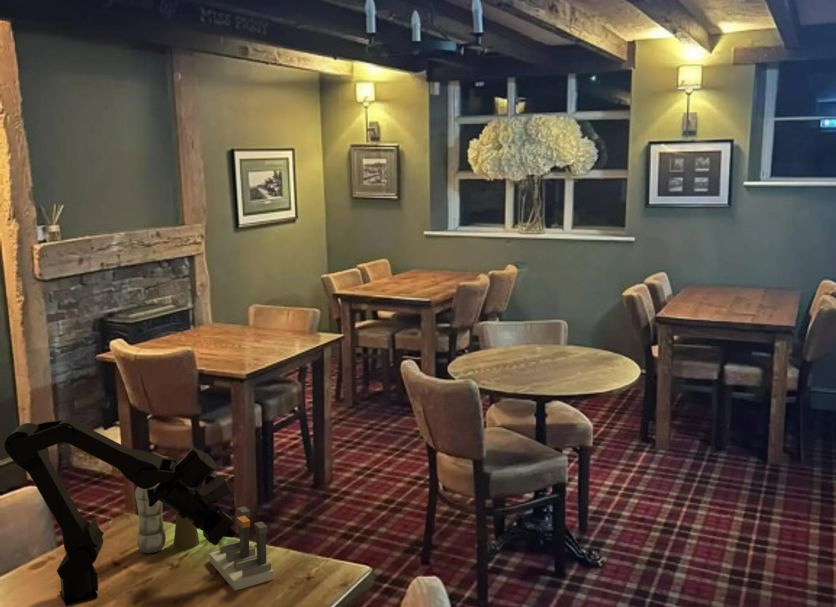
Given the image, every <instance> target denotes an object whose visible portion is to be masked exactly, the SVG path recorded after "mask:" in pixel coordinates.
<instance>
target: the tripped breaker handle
mask: <svg viewBox="0 0 836 607" xmlns="http://www.w3.org/2000/svg"><path fill="white" fill-rule="evenodd" d="M236 519H237V520H236V521H237V524H238V530H239V531H238V532H239V541H240V558H241V559H242V558H246V557H249V546H250V529H249V528H250V527H251V520H250V519H249V517H248V518H247V517H246V516H241V517H239V516H237V517H236ZM248 527H249V528H248Z"/></svg>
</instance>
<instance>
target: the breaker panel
mask: <svg viewBox="0 0 836 607" xmlns="http://www.w3.org/2000/svg"><path fill="white" fill-rule="evenodd" d="M208 557H209V562H210V564H211V565H212V566H213V567H214V568H215V570H216V571H218V573H219V574H220V575H221V576H222V577H223V578H224V580H225V581H226V582H227V583H228V584H229V586H230V587H231V588H232V589H233V590H234V591H238V589H239V590H242V589H244V588H248V587H252V586H256V585H260V584H263V583H267V582H268V581H269V582H270V581H273V580H274V579H275V576H274V575H275V573H274V572H275V570H273V568H272V563H271V562H266V563H265V564H261V565H257V552H256V547H255V546H253V545H249V557H246V558H242V559H241V558H240V540H236V541H233V542H229V543H226V544H221V545H219V550H217V551H212V552H208Z"/></svg>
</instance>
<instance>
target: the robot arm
mask: <svg viewBox="0 0 836 607" xmlns="http://www.w3.org/2000/svg"><path fill="white" fill-rule="evenodd" d="M62 443H65V444H69V445H71V446H72V447H74V448H76V449H78V450H80V451H82V452H85V453H86V454H88V455H90V456H92V457H94V458H95V459H98V460H101V461H102V462H105V463H106V464H108V465H110V466H112V467H114V468H116V469H117V470H118V471H119V472H120V473H121V474H122V475H123V476H124V478H125V479H127V480H128V481H129V482H131V484H133V485H135V486H136V487H137V486H138V487H139V488H142V489H148V490H147V496H148V504H149V507H152V506H153V505H154V504H155V503H156V502H157V501H158V500H159V501H160V502H162V505H165V506H166V507H168V508H169V509H171V510H172V511H175V512H177V513H178V514H179V516H180V517H182V518H183V519H184V518H185V519H187V520H188V521H190V522H191V523H192V524H193V525H194V526H195V527H196V528H197V529H200V530H201V531H202V537H204V538H205V539H206V540H207V541H208V542H209V543H210V544H211V545H213V546H216V545H218V544H219V543H220V542H221V540H222V539H223V538H231V539H232V538H234V537H235V536H236V532H235V531H234V530H233V529H232V527H233V525H234V522H235V521H234V520H233V518H231V517H230V516H229V515H228V514H226V512H225V511H223V509H220V506H219V505H218V504H216V503H218V502H220V501H221V500H222V499H224V498H225V497H227V496H229V495H231V494H232V491H233V490H232V489H231V487H230V485H229V483H228V481H227V480H226V479H225V478H224V477H223V476H222V475H221V474H219V475H218V474H215V476H214V475H213V473H214V472H215V471H216V470H217V469H218V465H217V464H216V462H215V460H214V459H213V458H212V457H211V455H209V454H208V453H207V452H206V453H205V452H204V451H203V450H201V449H198V448H196V447H195V446H192V447H191V448H190V449H189V450H188V452H187V453H186V454H185V455H184V456H183V457H182V458H181V459H180V460H179V459H172V458H171V459H170V458H162V457H161V456H159V455H157V454H156V453H153V452H149V451H145V450H142V449H134V448H130V447H127V446H124V445H123V444H122V443H119V442H117V441H115V440H114V439H111V438H109V437H107V436H105V435H104V434H101V433H100V432H98V431H96V430H94V429H91V428H89V427H88V426H86V425H84V424H82V423H80V422H78V420H76V419H74V418H72V417H67V418H63V419H60V420H51V421H45V422H40V423H33V422H26V423H22V424H20V425H18V426H17V427H16V428H15V429H14V430H13V431H12V432H11V433H10V434H9V435H8V436H7V437H6V439H5V442H4V451H5V453H6V454H7V455H8V457H9V458H10V459H11V460H12V461H13V463H14V464H16V466H18V467H19V468H21V469H22V470H23V471H25V472H26V473H28V475H29V476H30V479H32V482H33V483H34V485H35V487H36V489H37V491H38V492H39V494H40V495H41V497H42V499H43V501H44V502H45V504H46V506H47V509H48V510H49V511H50V513H51V515H52V516H53V518H54V520H55V522H56V524H57V525H58V527H59V529H60V531H61V536H62V543H63V548H64V551H65V554H64V557H63V558H62V561H61V562H60V563H59V566H58V567H57V569H56V572H57V574H58V577H59V579H60V591H59V595H60V598H61V600H62V602H63V604H64V606H66V607H67V606H71V605H76V604H78V603H79V604H80V603H83V602H86V601H90V600H94V599H97V598H98V597H99V596H98V595H99V593H97V592H98V591H99V578H98V577H99V576H98V572H97V570H96V568H95V566H94V563H95V562H96V560H97V559H98V556H99V554H100V553H101V549H102V547H103V545H104V534H105V532H104V531H102V530H101V529H100V528H99V525H98V521H97V520H96V519H95V518H93V519H92V520H90V521H89V520H87V519H85V518H84V517H83V516H82V515H81V513H80V511H79V509H78V507H77V506H76V505H75V502H74V501H73V499H72V497H71V495H70V494H69V492H68V490H67V489H66V486H65V485H64V482H62V479H61V477H60V476H59V474H58V472H57V470H56V468H55V467H54V465H53V463H52V462H51V459H50V452H49V448H51V447H52V446H56V445H58V444H62ZM158 483H159V484H158ZM157 484H158V485H157ZM156 485H157V486H156ZM154 486H156V487H155V488H153V487H154ZM199 486H201V487H200V488H198V487H199ZM149 488H153V489H149ZM197 488H198V489H197ZM175 512H174V513H175Z"/></svg>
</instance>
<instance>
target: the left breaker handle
mask: <svg viewBox="0 0 836 607" xmlns="http://www.w3.org/2000/svg"><path fill="white" fill-rule="evenodd" d="M237 515H238V517H241V516H246V517H247V518H248V519H249V518H251V511H250V509H249V508H248V507H246V506H241V507H237ZM248 528H250V527H248Z"/></svg>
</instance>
